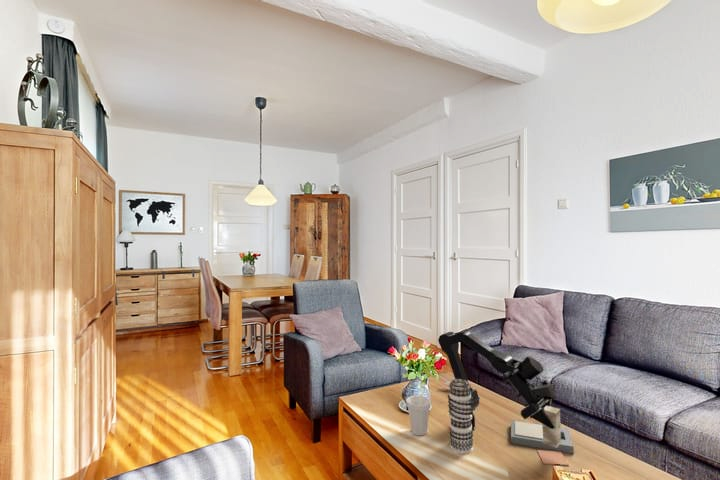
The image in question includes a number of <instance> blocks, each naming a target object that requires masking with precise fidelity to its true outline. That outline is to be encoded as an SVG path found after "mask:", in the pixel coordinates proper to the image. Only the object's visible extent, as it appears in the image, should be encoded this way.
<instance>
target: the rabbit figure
mask: <svg viewBox="0 0 720 480" xmlns="http://www.w3.org/2000/svg"><path fill="white" fill-rule="evenodd" d="M450 382H451V381H445V382H443V383H442V386H443V385H444V386H446V387H448V388H450V386H449V383H450Z"/></svg>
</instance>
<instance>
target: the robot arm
mask: <svg viewBox="0 0 720 480" xmlns="http://www.w3.org/2000/svg"><path fill="white" fill-rule="evenodd" d="M437 341H438V344H439V346H440V348H441V350H442V351H443V352H444V354H445V355H446V356H447V358H448V362H449V365H450V369H451V371H452V374H453V377H454V379H464V380H466V381H467V382H468V383H469V384H470V382H469V379H468V378H467V374H466V371H465V368H464V365H463V362H462V360H461V357H460V353H459V347H460V346H459V344H460V343H464V344H465V345H467V346H468V347H470V348H471V349H472V350H473V351H475V352H477V353H478V354H479V355H480V356H482V357H483V358H485V359H486V360H487V361H488V363H489V364H490V366H491V367H492V368H493V369H494V370H495V371H497V373H500V375H501V374H503V375H502V377H503V379H502V383H504V384H505V383H507V382H508V383H510V384H511V386H512V387H513V388H514V389H515V390H516V392H517V397H518V398H522V399H523V400H524V402H525V407H524V408H522V409H521V410H520V416H521V418H523V420H526V419H528V418H529V419H532V420H535V421H536V422H539V423H540V424H544V425H546V426H547V427H549V428H551V429H553V428H554V426H553V424H552V422H551V421H550V420H549V418H548V417H547V415H546V414H545V412H544V407H545V406H546V405H547V406H551V407H553V406H552V402H553V399H552V398H553V396H555V390H554V385H553V384H552V382H550V381H549V380H548V379H545V380H542V381H541V384H540V385H536V384H535V383H534V382H532V383H531V382H530V381H533V379H535V378H536V377H537V376H539V375H541V374H542V373H543V372H544V367H543V365H542V364H541V363H540V362H539V361H538V360H537V359H534V358H533V357H531V355H528V356H526V357H525V358H524V360H522V361H521V360H518V359H515V358H513V357H512V356H511V355H509V354H507V353H505V352H502V351H499V350H496V349H494V348H493V347H491V346H490V345H488V344H486V343H485V342H484V341H482V340H481V339H479V338H478V337H476V336H475V335H474V334H472V333H471V332H470V331H468V330H464V331H458V332H453V331H448V332H445V333H442V334H440V335H439V336H438V340H437ZM516 370H517V371H516ZM470 393H471V396H472V397H473V400H472V401H473V404H472V405H471V406H472V407H473V409H472V411H475V410H476V409H477V407H479V405H480V399H481V398H480V397H479V395H478V391H477V389H473V388H472V386H471V387H470ZM550 398H551V399H550ZM471 415H472V419H471V424H472V430H473V431H475V427H476V418H475V414H474V412H473V413H472V414H471Z"/></svg>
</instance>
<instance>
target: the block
mask: <svg viewBox="0 0 720 480" xmlns="http://www.w3.org/2000/svg"><path fill="white" fill-rule="evenodd" d="M551 406H552V405H551ZM551 406H547V405H546V406H545V407H544V412H545V414H546V415H547V417H548V418H549V420H550V421H551V422H552V424H553V426H554V428H553V429H551V428H549V427H547V426H546V425H544V424H543V443H544V444H546V445H549V446H552V447H555V448H557V447H558V446H559V444H560V443H561V439H562V438H561V430H560V427H561V408H557V407H553V406H552V407H551Z"/></svg>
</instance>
